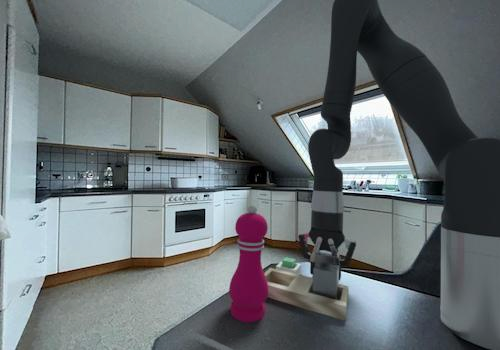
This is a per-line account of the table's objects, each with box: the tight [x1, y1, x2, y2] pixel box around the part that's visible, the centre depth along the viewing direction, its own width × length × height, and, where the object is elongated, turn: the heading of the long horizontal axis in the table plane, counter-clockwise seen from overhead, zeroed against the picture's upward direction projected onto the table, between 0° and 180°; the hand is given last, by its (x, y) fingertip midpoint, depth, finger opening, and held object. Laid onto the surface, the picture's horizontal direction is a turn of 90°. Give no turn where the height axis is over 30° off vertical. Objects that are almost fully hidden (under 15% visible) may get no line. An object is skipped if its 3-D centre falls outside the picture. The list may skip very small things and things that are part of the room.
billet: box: [312, 262, 340, 300], centre depth 44 cm, size 4×4×7 cm
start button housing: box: [275, 261, 302, 275], centre depth 56 cm, size 5×5×3 cm
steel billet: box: [315, 250, 335, 265], centre depth 53 cm, size 4×4×7 cm
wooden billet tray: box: [264, 267, 350, 322], centre depth 46 cm, size 18×9×3 cm, turn 63°
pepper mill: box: [228, 204, 269, 323], centre depth 40 cm, size 7×7×20 cm
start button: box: [282, 257, 297, 269], centre depth 56 cm, size 3×3×2 cm
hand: (325, 278), depth 53 cm, fingers closed on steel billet, 4 cm apart
